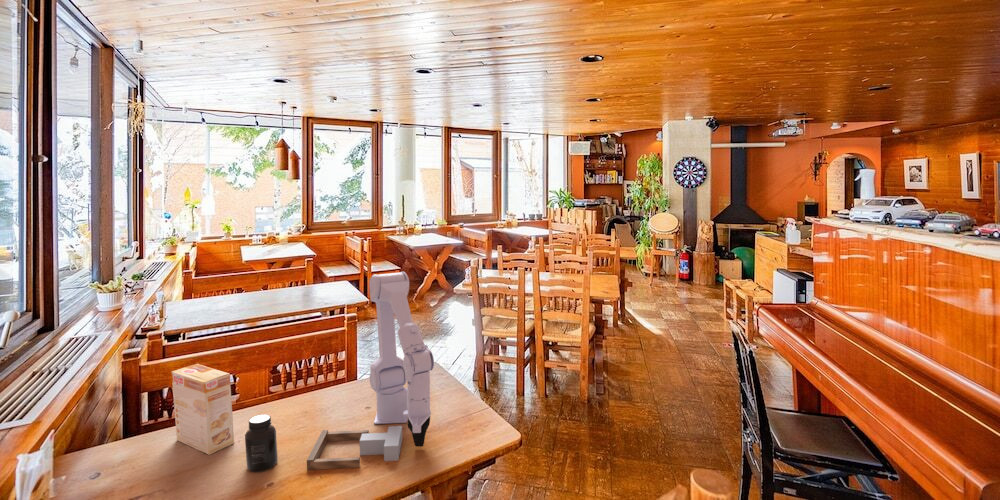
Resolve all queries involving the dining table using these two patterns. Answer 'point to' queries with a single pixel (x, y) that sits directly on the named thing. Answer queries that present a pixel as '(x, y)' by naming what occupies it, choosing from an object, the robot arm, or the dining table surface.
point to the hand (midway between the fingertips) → (419, 445)
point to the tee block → (382, 443)
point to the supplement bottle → (261, 444)
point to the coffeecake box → (203, 408)
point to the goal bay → (333, 463)
